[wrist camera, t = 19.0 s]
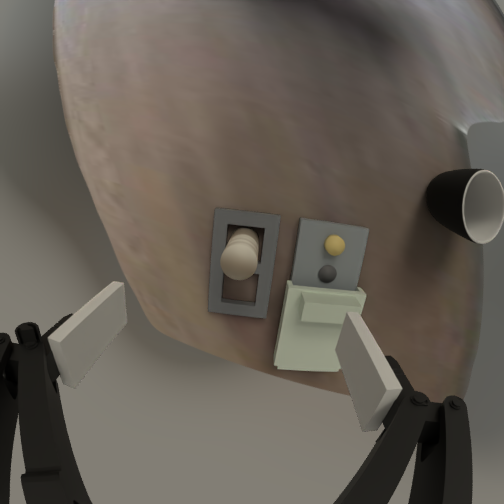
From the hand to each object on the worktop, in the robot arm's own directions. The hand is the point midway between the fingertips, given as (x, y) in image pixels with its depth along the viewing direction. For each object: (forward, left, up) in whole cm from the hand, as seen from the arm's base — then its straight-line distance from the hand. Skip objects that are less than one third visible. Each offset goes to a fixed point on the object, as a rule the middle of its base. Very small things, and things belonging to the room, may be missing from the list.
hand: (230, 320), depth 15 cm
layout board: (+3, +11, -21) cm, 24 cm away
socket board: (+4, 0, -21) cm, 21 cm away
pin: (0, 0, -21) cm, 21 cm away
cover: (+11, +11, -19) cm, 25 cm away
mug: (-10, +29, -21) cm, 37 cm away
